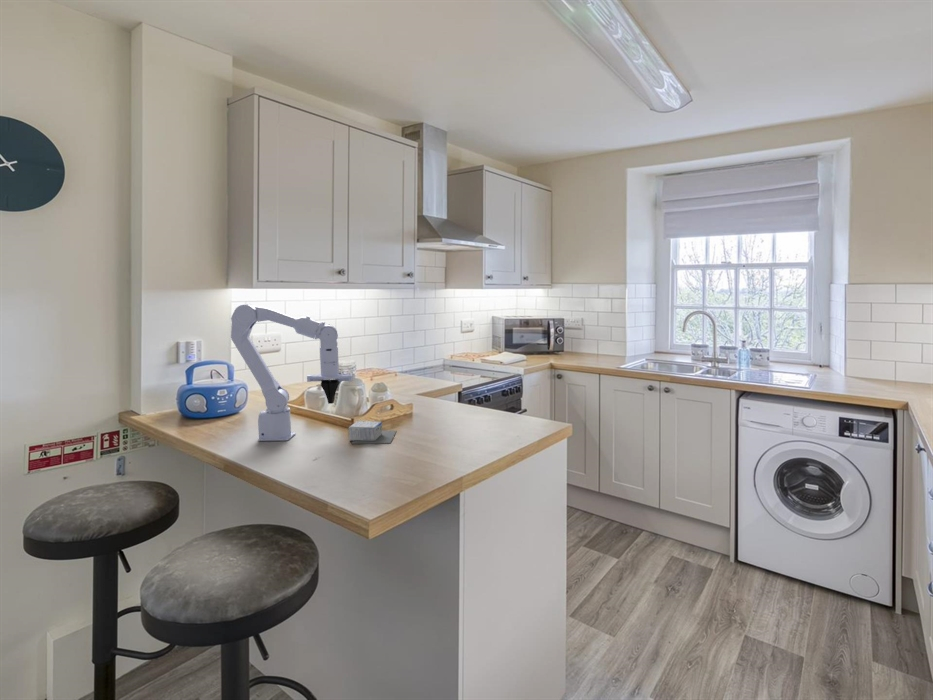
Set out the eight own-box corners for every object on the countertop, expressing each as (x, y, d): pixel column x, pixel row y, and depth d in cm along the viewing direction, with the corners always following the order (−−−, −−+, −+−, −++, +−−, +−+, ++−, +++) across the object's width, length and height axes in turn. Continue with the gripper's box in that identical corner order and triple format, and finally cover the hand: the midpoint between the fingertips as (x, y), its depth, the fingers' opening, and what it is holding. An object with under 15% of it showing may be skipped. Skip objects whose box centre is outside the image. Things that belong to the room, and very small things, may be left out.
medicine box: (348, 440, 161) (375, 441, 160) (347, 426, 160) (374, 427, 159) (357, 433, 169) (382, 434, 167) (356, 420, 168) (382, 421, 167)
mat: (351, 444, 158) (351, 443, 158) (360, 431, 172) (360, 431, 172) (390, 443, 158) (390, 442, 158) (396, 431, 172) (396, 430, 172)
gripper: (303, 363, 163) (305, 405, 165) (348, 363, 164) (350, 405, 165) (309, 361, 170) (311, 401, 172) (353, 360, 171) (355, 400, 172)
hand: (331, 402), depth 169 cm, fingers closed
